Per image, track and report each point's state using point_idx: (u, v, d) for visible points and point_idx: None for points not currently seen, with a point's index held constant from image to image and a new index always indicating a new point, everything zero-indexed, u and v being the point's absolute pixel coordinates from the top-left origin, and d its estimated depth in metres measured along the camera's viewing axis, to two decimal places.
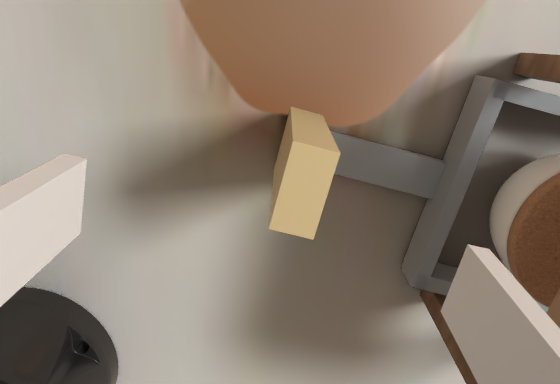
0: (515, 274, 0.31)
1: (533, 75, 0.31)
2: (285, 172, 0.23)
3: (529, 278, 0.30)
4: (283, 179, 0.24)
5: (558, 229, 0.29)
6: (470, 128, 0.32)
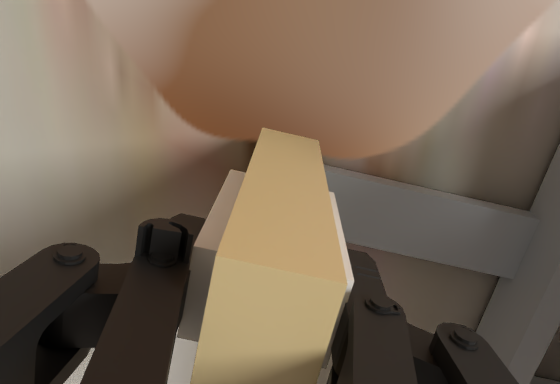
0: None
1: None
2: (203, 331, 0.09)
3: None
4: (200, 347, 0.09)
5: None
6: None
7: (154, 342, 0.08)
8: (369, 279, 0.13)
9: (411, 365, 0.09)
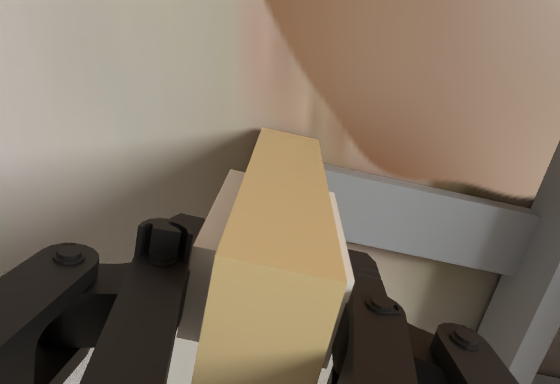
0: None
1: None
2: (203, 332, 0.09)
3: None
4: (200, 347, 0.09)
5: None
6: None
7: (153, 342, 0.08)
8: (369, 279, 0.13)
9: (412, 365, 0.09)
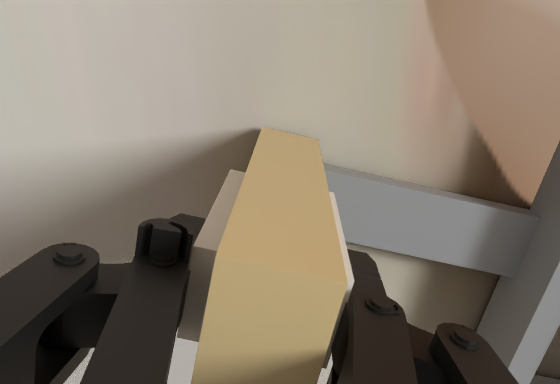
0: None
1: None
2: (203, 332, 0.09)
3: None
4: (200, 347, 0.09)
5: None
6: None
7: (154, 342, 0.08)
8: (369, 279, 0.13)
9: (411, 365, 0.09)
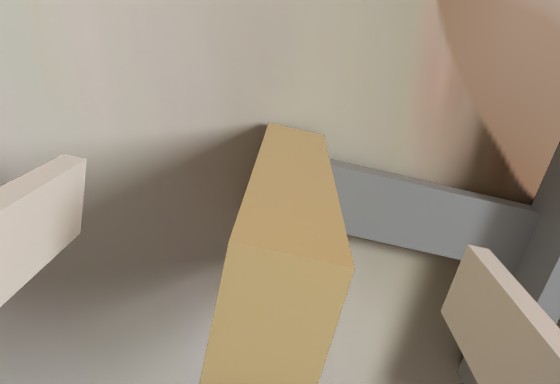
0: None
1: None
2: (216, 315, 0.09)
3: None
4: (213, 330, 0.09)
5: None
6: None
7: None
8: None
9: None
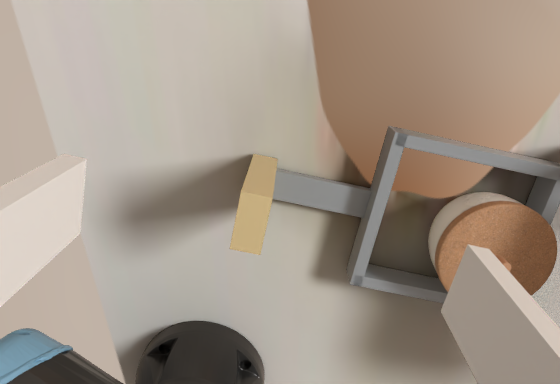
0: (444, 286, 0.43)
1: None
2: (237, 211, 0.35)
3: None
4: (236, 216, 0.36)
5: None
6: (383, 167, 0.44)
7: None
8: None
9: None
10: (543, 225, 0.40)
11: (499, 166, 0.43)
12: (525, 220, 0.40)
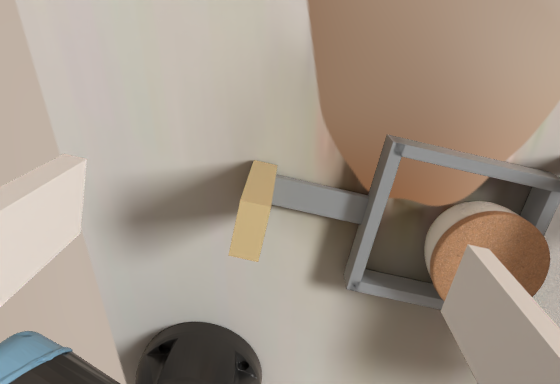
0: (438, 293, 0.43)
1: None
2: (236, 219, 0.36)
3: None
4: (235, 224, 0.36)
5: (460, 261, 0.42)
6: (380, 175, 0.44)
7: None
8: None
9: None
10: (536, 235, 0.41)
11: (495, 176, 0.43)
12: (519, 230, 0.41)
